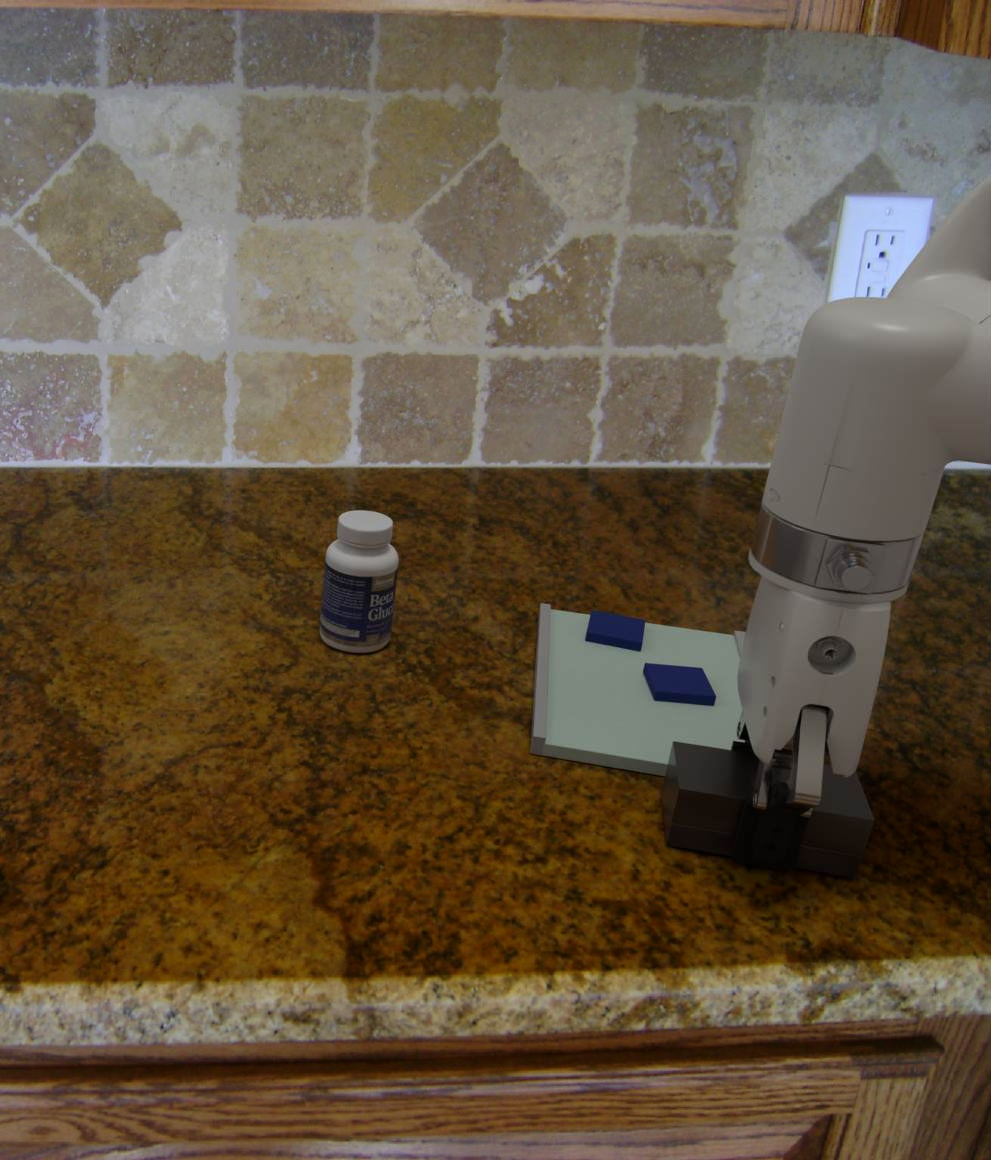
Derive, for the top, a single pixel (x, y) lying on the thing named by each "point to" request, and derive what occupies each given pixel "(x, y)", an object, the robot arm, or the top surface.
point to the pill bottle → (359, 583)
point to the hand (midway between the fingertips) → (755, 829)
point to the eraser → (725, 778)
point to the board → (627, 694)
